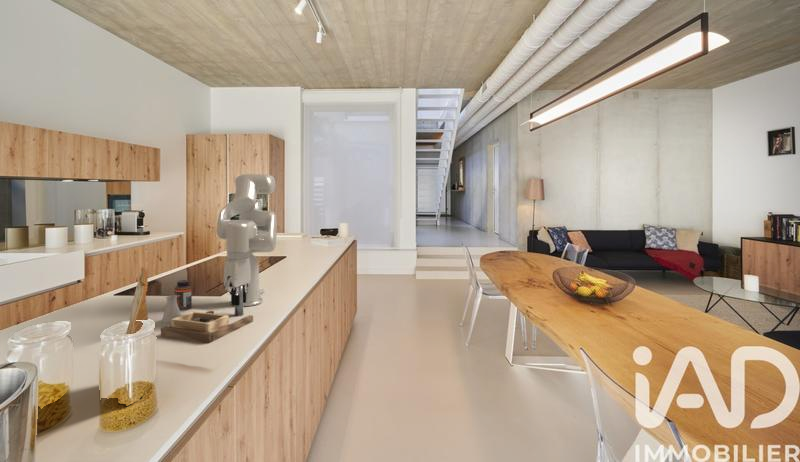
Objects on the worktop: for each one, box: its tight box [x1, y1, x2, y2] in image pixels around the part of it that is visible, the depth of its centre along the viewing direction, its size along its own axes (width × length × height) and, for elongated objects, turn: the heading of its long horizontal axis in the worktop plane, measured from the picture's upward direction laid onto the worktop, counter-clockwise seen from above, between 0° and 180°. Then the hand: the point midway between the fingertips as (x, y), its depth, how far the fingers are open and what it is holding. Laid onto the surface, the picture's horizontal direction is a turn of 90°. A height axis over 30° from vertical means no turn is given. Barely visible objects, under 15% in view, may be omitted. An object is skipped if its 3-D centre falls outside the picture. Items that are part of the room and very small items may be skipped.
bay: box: [160, 310, 254, 344], centre depth 124 cm, size 21×18×4 cm
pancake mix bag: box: [125, 266, 149, 335], centre depth 86 cm, size 7×19×28 cm, turn 27°
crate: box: [170, 310, 230, 332], centre depth 120 cm, size 9×14×5 cm, turn 76°
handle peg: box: [233, 285, 244, 317], centre depth 138 cm, size 3×3×13 cm
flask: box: [161, 294, 183, 323], centre depth 132 cm, size 7×7×10 cm
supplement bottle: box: [174, 279, 193, 311], centre depth 150 cm, size 6×6×11 cm
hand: (238, 303), depth 138 cm, fingers closed on handle peg, 3 cm apart
